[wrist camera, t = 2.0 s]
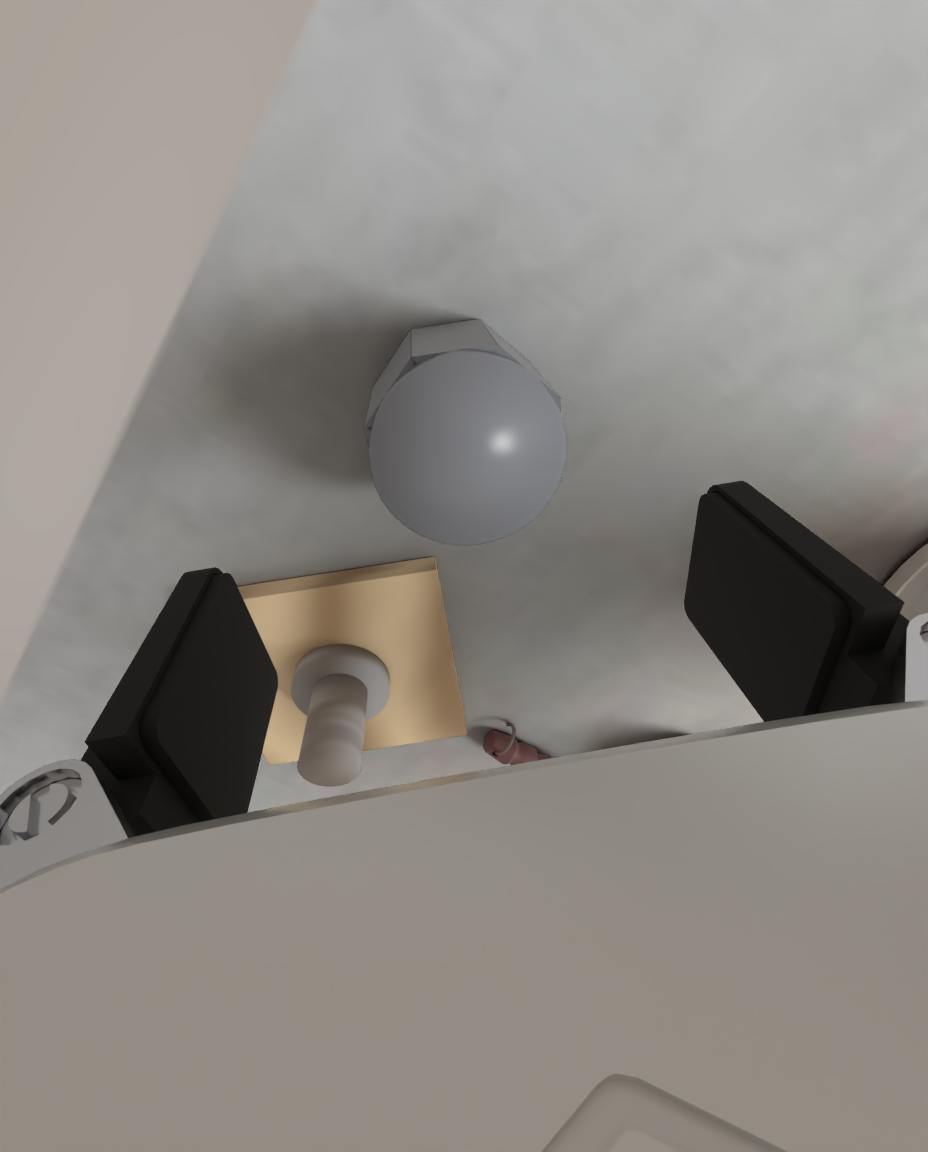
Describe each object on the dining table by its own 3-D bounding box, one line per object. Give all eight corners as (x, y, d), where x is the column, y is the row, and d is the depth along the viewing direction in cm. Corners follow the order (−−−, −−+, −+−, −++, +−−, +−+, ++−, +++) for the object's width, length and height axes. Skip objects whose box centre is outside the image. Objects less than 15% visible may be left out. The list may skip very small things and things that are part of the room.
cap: (528, 311, 20) (565, 339, 15) (536, 467, 24) (568, 530, 19) (362, 336, 20) (346, 372, 15) (395, 489, 24) (391, 557, 19)
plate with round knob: (435, 556, 26) (441, 648, 20) (465, 719, 32) (476, 821, 27) (192, 593, 26) (133, 695, 20) (273, 748, 32) (245, 856, 27)
